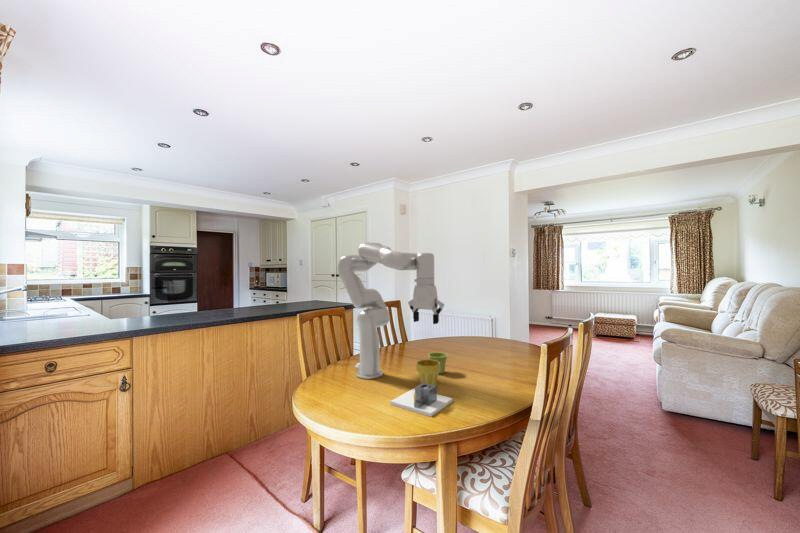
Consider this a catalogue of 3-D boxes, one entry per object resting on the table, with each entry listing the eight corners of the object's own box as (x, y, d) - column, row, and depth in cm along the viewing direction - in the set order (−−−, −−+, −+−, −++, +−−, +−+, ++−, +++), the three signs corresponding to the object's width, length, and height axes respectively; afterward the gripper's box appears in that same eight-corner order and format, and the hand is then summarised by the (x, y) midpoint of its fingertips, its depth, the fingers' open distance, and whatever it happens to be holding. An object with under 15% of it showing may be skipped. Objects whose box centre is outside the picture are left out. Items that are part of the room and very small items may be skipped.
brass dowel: (413, 405, 122) (413, 393, 122) (414, 404, 123) (414, 392, 123) (415, 406, 121) (415, 393, 121) (417, 405, 122) (417, 393, 122)
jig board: (390, 404, 126) (390, 401, 126) (413, 391, 139) (413, 388, 139) (430, 416, 115) (430, 413, 115) (452, 401, 128) (452, 398, 128)
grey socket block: (423, 396, 130) (423, 382, 130) (436, 400, 127) (436, 385, 127) (409, 405, 122) (409, 390, 122) (423, 409, 118) (423, 394, 118)
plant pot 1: (439, 389, 140) (439, 366, 140) (415, 388, 142) (414, 365, 142) (441, 381, 150) (441, 359, 150) (418, 380, 153) (418, 358, 153)
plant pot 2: (426, 374, 160) (426, 356, 160) (430, 368, 169) (430, 351, 169) (446, 376, 157) (446, 358, 157) (449, 370, 166) (448, 352, 166)
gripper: (403, 282, 143) (404, 321, 143) (438, 283, 133) (439, 325, 133) (413, 281, 149) (413, 319, 149) (447, 282, 139) (448, 323, 139)
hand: (425, 322), depth 141 cm, fingers open, 9 cm apart
